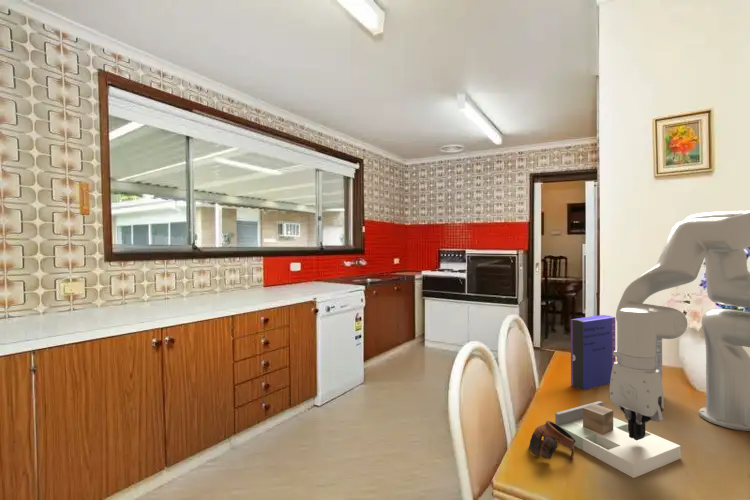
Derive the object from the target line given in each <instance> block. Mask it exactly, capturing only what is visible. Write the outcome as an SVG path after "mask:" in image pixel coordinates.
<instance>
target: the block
mask: <svg viewBox="0 0 750 500" xmlns="http://www.w3.org/2000/svg"><path fill="white" fill-rule="evenodd" d="M592 403H593V404H591V405H588V406H586V407H583V427H585V428H587V429H590V430H592V431H594V432H597V433H599V434H602V435H604V434H606V433H608V432H610V431H612V430H613V417H614V410H613V409H610V408H608V407H605V406H603V407H602V406H600V405H597V404H594V402H592Z"/></svg>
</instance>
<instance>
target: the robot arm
mask: <svg viewBox="0 0 750 500" xmlns="http://www.w3.org/2000/svg"><path fill="white" fill-rule="evenodd" d="M748 248H750V209H743V210H728V211H714V212H713V211H711V212H710V211H709V212H701V213H695V214H691V215H689V216H687V217H686V218H684V220H682V221H681V220H680V221H679V222H677V223H675V225H674V226H672V228H671V230H670V232H669V235H668V237H667V240H666V242H665V245H664V246H663V249H662V252H661V253H660V256H659V258H658V261H657V263H656V265H655V266H654V267H652V268H651V269H649V270H647V271H645V272H644V273H643V274H641V275H640V276H638V277H637V278H635V280H633V281H632V282H631V283H630V284H629V285H628V286H627V287H626V288H625V290H624V292H623V293H622V296H621V298H620V300H619V302H618V305H617V309H616V313H615V321H616V346H617V347H616V348H617V349H616V350H615V351H614V352H613V355H614V356H616V362H614V365H613V368H612V373H611V379H610V384H609V400H610V401H611V402H612V404H613V405H614V406H616V407H617V408H619V409H620V410H621V412H623V414H624V418H625V420H627V423H628V431H629V437H630V438H634V440H640V439H642V438H644V437H645V431H646V423H649V422H650V421H651V422H656V423H659V422H662V421H664V417H663V414H662V413H664V411H665V410H664V408H665V399H664V387H663V380H662V381H661V377H660V373H659V370H656V339H662V340H665V339H666V340H671V339H677V338H680V337H681V336H683V335H684V334H685V333H686V330H687V328H688V319H687V317H686V315H685V314H684V313H683V312H682V311H681V310H679V309H677V308H674V307H669V306H662V305H655V304H650V303H644V302H645V301H646V300H647V299H648V298H650V296H653V295H654V294H656V293H659V292H661V291H665V290H669V289H673V288H677V287H679V286H683V285H687V284H690V283H693V282H694V281H695V280H696V279H697V278H698V276H699V273H700V271H701V268H702V266H703V262H705V278H706V291H707V292H706V293H707V297H708V298H709V300H710V301H711V302H713V303H715V304H719V305H724V306H731V307H738V308H747V309H750V271H749V270H748V262H747V261H748V259H747V254H746V251H745V249H748ZM701 328H702V329H701V330H702V333H703V337H704V343H705V344H704V345H705V406H704V407H702V408H700V409H699V410H698V415H699V416H700V417H701V418H702V419H704V420H705V421H708V422H709V423H712V424H714V425H716V426H720V427H724V428H728V429H732V430H737V431H745V432H748V431H749V432H750V355H749V353H748V352H747V351H746V349H745V348H744V347H746V348H750V311H745V310H738V309H728V308H714V309H710V310H708V311H705V313H704V314H703V315H702V317H701Z"/></svg>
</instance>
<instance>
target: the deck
mask: <svg viewBox="0 0 750 500" xmlns="http://www.w3.org/2000/svg"><path fill="white" fill-rule="evenodd" d="M593 403H594V404H597V405H600V406H602V407H604V401H600V400H598V401H594V402H591V403H588V404H587V403H586V404H584V405H580V406H576V407H572V408H569V409H565V410H561V411H558V412H555V413H554V415H555V418H554V419H555V421H554V422H555V423H554V424H556V425H558V426H559V427H561V428H562V429H564V430H565V431H566V432H567V433H569V434H570V435H571V436H572V437H573V438H574V439H575V441H576V442H575V443H574V444H573V445H574V447H576V448H578V449H579V450H582V451H583V452H586V453H587V454H589V455H590V456H592V457H594V458H596V459H598V460H599V461H601V462H603V463H605V464H608V465H609V466H611V467H613V468H614V469H616V470H618V471H620V472H621V473H624V474H626V475H627V476H629V477H631V478H633V479H634V478H637V477H639V476H642V475H645V474H647V473H650V472H651V471H654V470H657V469H659V468H661V467H663V466H666V465H668V464H670V463H673V462H675V461H677V460H680V459H682V458H681V454H682V453H681V448H682V447H681V445H679V444H678V443H675V442H672V441H670V440H668V439H666V438H663V437H661V436H659V435H656V434H654V433H651V432H649V431H647V430H645V437H644V438H642V439H640V440H634V438H630V437H629V431H628V422H625V421H624V420H621V419H618V418H616V417H614V416H613V430H612V431H610V432H608V433H606V434H604V435H602V434H599V433H597V432H594V431H592V430H590V429H587V428H585V427H583V407H586V406H588V405H591V404H593Z"/></svg>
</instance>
